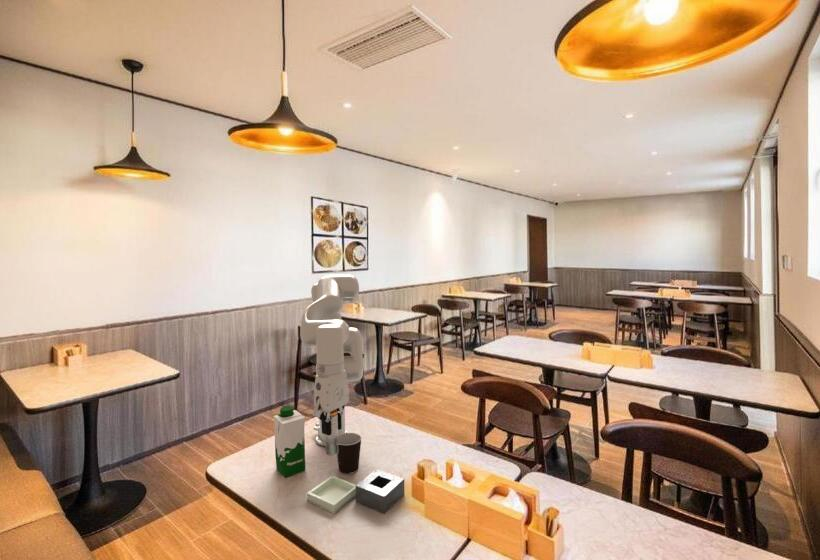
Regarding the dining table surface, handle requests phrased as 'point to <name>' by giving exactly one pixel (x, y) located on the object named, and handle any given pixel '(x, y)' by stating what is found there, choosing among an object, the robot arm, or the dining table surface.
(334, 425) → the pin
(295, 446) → the milk carton
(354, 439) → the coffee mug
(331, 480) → the tray
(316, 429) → the robot arm
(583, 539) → the dining table surface
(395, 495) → the grey square box
